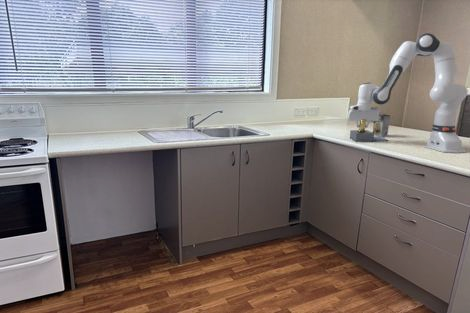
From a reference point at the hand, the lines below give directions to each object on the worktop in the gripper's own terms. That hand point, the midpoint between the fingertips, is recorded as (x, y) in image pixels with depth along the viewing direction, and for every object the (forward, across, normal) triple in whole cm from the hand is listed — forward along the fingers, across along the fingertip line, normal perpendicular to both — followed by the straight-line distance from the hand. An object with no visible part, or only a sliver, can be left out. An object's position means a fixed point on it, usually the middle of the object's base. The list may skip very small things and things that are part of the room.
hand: (362, 127), depth 232 cm
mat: (+9, -12, -6) cm, 16 cm away
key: (+6, 0, -1) cm, 6 cm away
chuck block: (+9, 0, -1) cm, 9 cm away
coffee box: (+9, -18, -20) cm, 28 cm away
